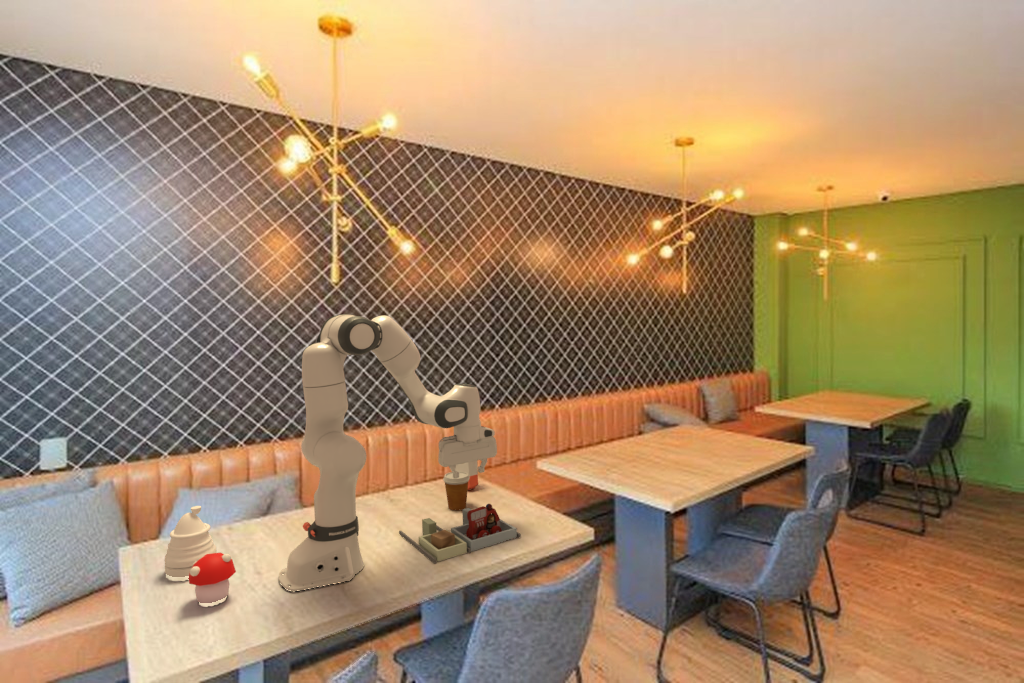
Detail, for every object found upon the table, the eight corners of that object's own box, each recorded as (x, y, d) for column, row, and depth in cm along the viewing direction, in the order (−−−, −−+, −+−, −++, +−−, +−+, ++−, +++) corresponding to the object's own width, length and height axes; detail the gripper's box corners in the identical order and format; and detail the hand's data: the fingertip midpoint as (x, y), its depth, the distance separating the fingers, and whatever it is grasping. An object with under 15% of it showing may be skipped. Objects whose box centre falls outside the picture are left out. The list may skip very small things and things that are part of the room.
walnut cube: (441, 555, 166) (441, 539, 166) (431, 550, 170) (431, 534, 170) (455, 550, 170) (454, 534, 170) (444, 545, 174) (444, 529, 173)
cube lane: (437, 561, 163) (436, 541, 162) (412, 541, 177) (411, 522, 177) (466, 552, 168) (466, 533, 167) (439, 533, 182) (439, 515, 182)
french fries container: (468, 492, 221) (467, 447, 220) (453, 486, 229) (451, 442, 228) (478, 490, 224) (477, 445, 223) (462, 483, 232) (461, 440, 231)
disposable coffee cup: (472, 510, 202) (471, 477, 201) (445, 513, 200) (444, 480, 199) (468, 501, 211) (467, 470, 210) (442, 504, 209) (441, 472, 208)
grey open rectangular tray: (470, 551, 169) (470, 531, 168) (443, 532, 183) (443, 514, 183) (516, 537, 178) (516, 519, 177) (487, 520, 192) (487, 503, 192)
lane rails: (434, 563, 161) (434, 559, 161) (399, 534, 182) (399, 530, 182) (520, 537, 178) (520, 533, 178) (479, 513, 199) (479, 510, 199)
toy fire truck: (506, 535, 180) (505, 503, 179) (476, 548, 171) (475, 514, 171) (492, 529, 185) (491, 498, 184) (462, 541, 176) (461, 508, 176)
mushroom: (179, 611, 139) (176, 564, 138) (205, 589, 149) (202, 544, 149) (221, 611, 138) (219, 564, 137) (245, 589, 149) (242, 544, 148)
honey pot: (220, 557, 169) (216, 498, 167) (214, 576, 157) (210, 512, 155) (170, 565, 164) (166, 504, 163) (160, 585, 152) (156, 520, 151)
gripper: (443, 440, 175) (444, 483, 176) (498, 430, 187) (500, 471, 188) (434, 436, 180) (435, 478, 181) (488, 426, 192) (490, 466, 193)
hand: (468, 474), depth 185 cm, fingers open, 8 cm apart
